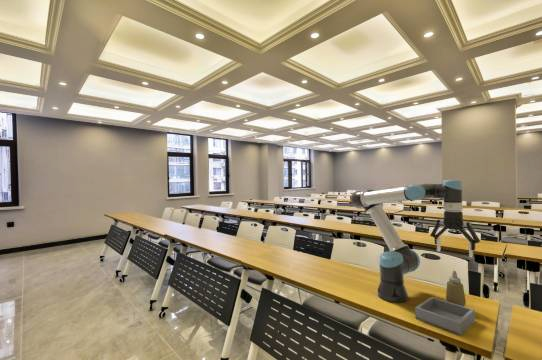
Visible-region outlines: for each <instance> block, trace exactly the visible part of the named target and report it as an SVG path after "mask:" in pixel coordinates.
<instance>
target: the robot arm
mask: <svg viewBox="0 0 542 360" xmlns="http://www.w3.org/2000/svg"><path fill="white" fill-rule="evenodd" d="M462 187H463V186H462V181H461V180H460V179H444V180H443V181H442V183H421V184H417V183H416V184H410V185H407V186H406V185H405V186H400V187H392V188H386V189H379V190H378V189H377V190H376V189H366V190H365V189H364V190H361V189H360V190H356V191H354V192H353V193H352V194H351V196H350V203H351V204H352V206H353V207H355V208H356V209H360V210H361V209H364V211H365V213H366V214H369V215H370V217H371V219H372V220H373V222H374V225H376V227H377V229H378V231H379V233H380V235H381V236H382V238H383V240H384V242H385V244H386V246H387V247H388V249H389V250H388V251H383V252H382V253H381V254H379V260H378V261H379V262H378V263H379V275H380V276H379V277H380V280H379V281H380V282H379V284H378V288H377V296H378V297H379V298H380V299H381V300H384V301H387V302H389V303H390V302H391V303H404V302H405V303H406V302H407V301H408V300H409V293H408V291H407V288H406V286H405V282H404V281H405V280H404V278H405V277H404V275H406V274H408V273H413V272H415V271H416V270H418V269H419V267H420V265H421V258H420V256H419V254H418V253H417V252H416V251H414V250H413V249H411V248H410V246H409V245H408V244H405V243H404V242H403V241H402V239H401V237H400V236H399V234H398V232H397V230H396V229H395V227H394V225H393V223H392V222H391V220H390V218H389V217H388V215H387V214H386V211H385V210H384V204H388V203H399V202H408V201H420V200H425V199H443V209H444V211H443V219H441V218H439V219H437V220H436V224H435V226H434V227H433V230H432V231H431V233H430V235H429V236H430V237H431V238H432V237H433V239H434V245H436V252H441V247H442V246H441V243H442V242H441V235H443V234H444V233H445V232H446V231H447V230H451V231H459V232H460V233H461V234H462V235H463V236H464V237H465V239H466V240H467V241H469V243H468V257H469V258H473V257H474V252H475V250H476V244H478V243H481V240H480V238H479V235H478V234H477V233H476V231H475V229H474V228H473V226H472V222H471V221H467V222H466V221H464V220H463V219H464V218H463V217H464V216H463V188H462ZM442 224H443V225H444V226H443V227H442V229H440V227H441V225H442ZM463 226H465V227H466V228H467V230H468V232H469V233H468V232H467V231H466V230H465V228H464V227H463ZM439 229H440V230H439ZM438 230H439V231H438Z"/></svg>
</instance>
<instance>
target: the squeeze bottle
mask: <svg viewBox="0 0 542 360" xmlns="http://www.w3.org/2000/svg"><path fill="white" fill-rule="evenodd" d="M461 281H462V279H461V278H459V277H458V274H457V270H452V273H451V276H449V277H448V281H447V282H446V293H445V299H446V300H445V301H447V302H451V303H454V304H457V305H461V306H464V307H466V303H467V301H466V295H465V287H464V284H463V283H462V282H461Z"/></svg>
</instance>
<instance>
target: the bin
mask: <svg viewBox="0 0 542 360" xmlns="http://www.w3.org/2000/svg"><path fill="white" fill-rule="evenodd" d="M414 309H415V311H414V312H415V319H416V320H419V321H421V322H424V323H426V324H429V325H432V326H434V327H438V328H439V329H442V330H444V331H447V332H450V333H452V334H456V335H457V336H459V337H461V336H462V335H463V334H464V333H465V332H466V331H467V330H469V328H470V327H471V326H472V325H473V324H474V323H475V322H476V315H475V312H476V311H475V309H474V308H470V307H467V306H461V305H457V304H454V303H451V302H447V300H444V299H441V298H438V297H434V296H431V297H429V298H427V299H426V300H424V301H423V302H422V303H421V302H420V304H418V305H417V306H415V307H414Z"/></svg>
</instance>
